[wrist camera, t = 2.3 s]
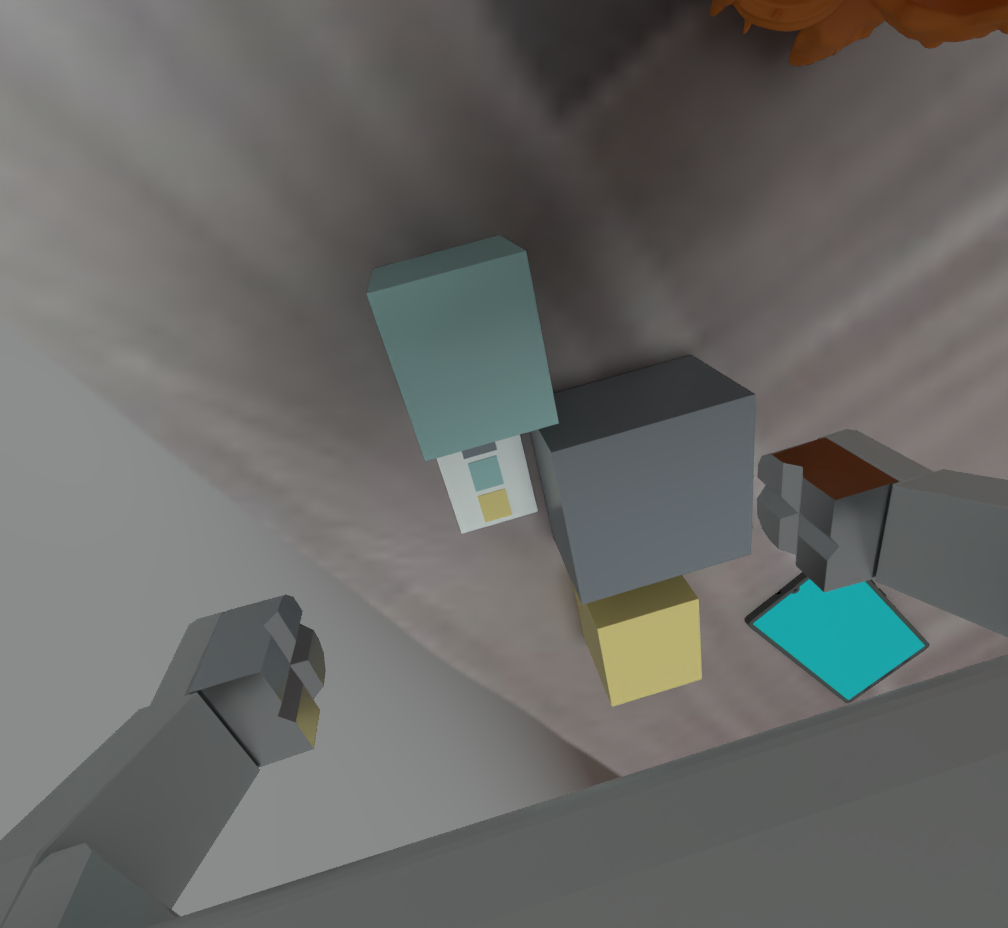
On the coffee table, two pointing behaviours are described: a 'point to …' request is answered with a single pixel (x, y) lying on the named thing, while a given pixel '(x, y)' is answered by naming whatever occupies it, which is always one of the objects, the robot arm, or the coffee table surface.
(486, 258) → the brick teal
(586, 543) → the tower base
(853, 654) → the smartphone
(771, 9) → the orange figurine
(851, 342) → the coffee table surface
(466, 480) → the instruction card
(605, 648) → the brick mustard
